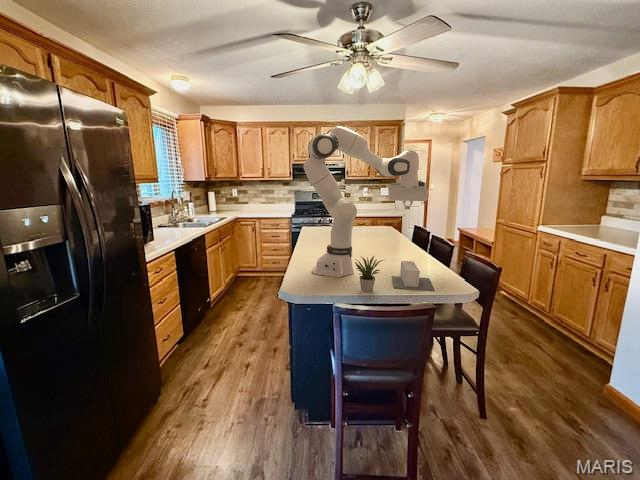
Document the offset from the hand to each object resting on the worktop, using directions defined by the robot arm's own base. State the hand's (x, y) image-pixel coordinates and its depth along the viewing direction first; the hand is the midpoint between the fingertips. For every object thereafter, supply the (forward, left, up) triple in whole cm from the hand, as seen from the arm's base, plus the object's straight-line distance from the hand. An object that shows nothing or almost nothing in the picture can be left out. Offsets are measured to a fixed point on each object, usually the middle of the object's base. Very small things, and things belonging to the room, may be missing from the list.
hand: (407, 209), depth 161 cm
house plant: (-18, -36, -33) cm, 52 cm away
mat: (+2, -24, -33) cm, 41 cm away
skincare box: (0, -15, -28) cm, 32 cm away
